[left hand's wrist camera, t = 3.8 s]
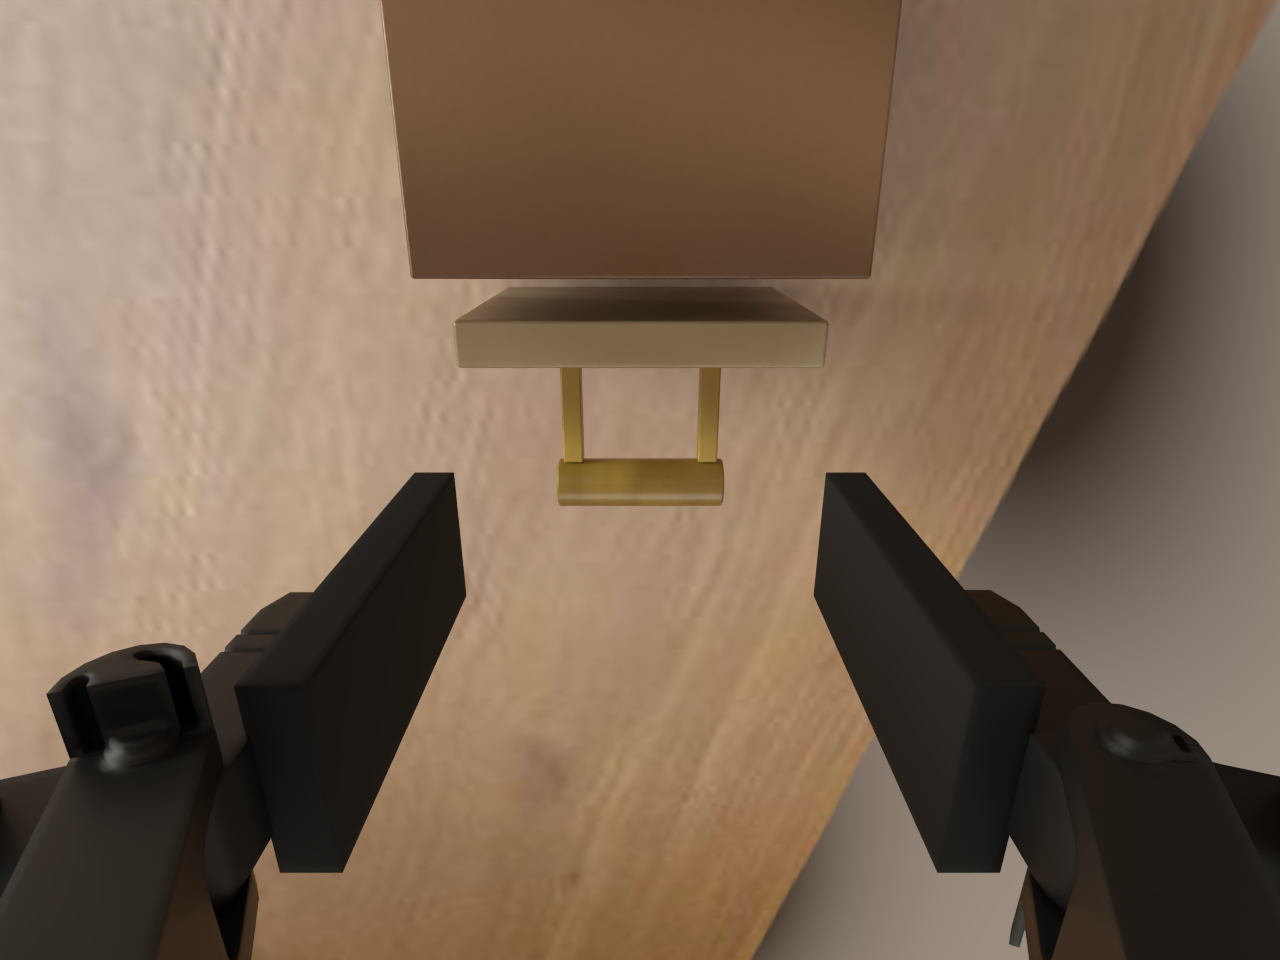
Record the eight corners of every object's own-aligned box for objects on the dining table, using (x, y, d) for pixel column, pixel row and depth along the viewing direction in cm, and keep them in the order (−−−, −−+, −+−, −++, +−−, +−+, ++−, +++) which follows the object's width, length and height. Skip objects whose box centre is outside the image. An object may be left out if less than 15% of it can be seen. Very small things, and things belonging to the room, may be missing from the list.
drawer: (762, 456, 27) (808, 550, 20) (518, 456, 27) (473, 550, 20) (809, -261, 20) (912, -545, 12) (471, -261, 20) (369, -545, 12)
